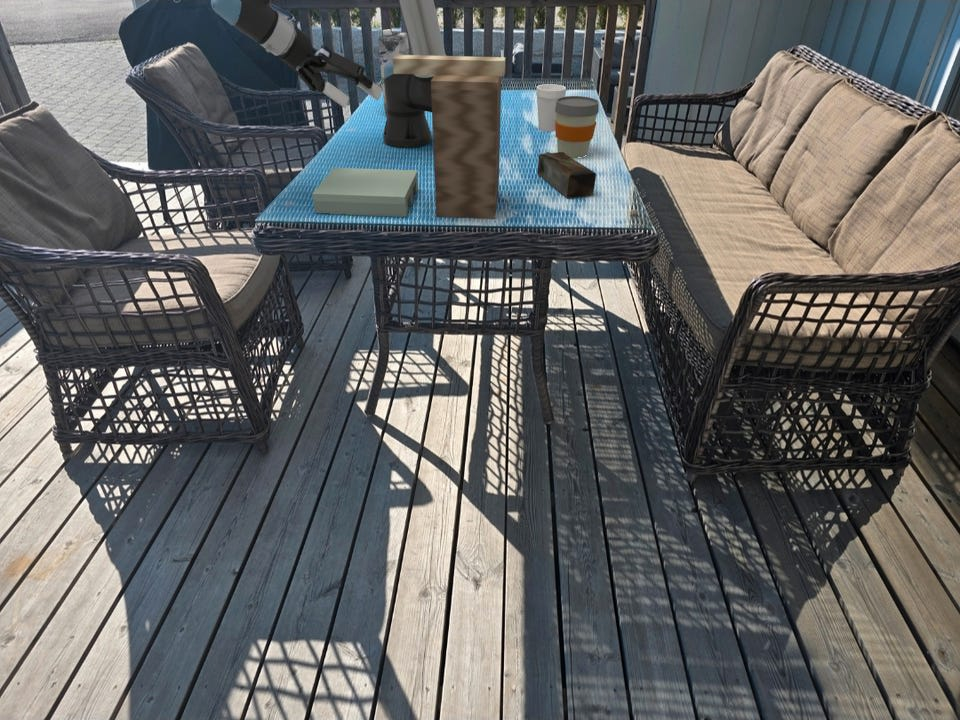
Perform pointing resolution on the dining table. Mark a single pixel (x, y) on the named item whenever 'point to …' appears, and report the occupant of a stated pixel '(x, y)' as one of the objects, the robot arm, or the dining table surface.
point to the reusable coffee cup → (575, 124)
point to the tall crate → (466, 144)
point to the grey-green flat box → (366, 192)
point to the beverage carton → (566, 174)
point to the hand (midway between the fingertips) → (363, 99)
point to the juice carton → (391, 51)
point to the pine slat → (449, 65)
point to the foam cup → (548, 104)
